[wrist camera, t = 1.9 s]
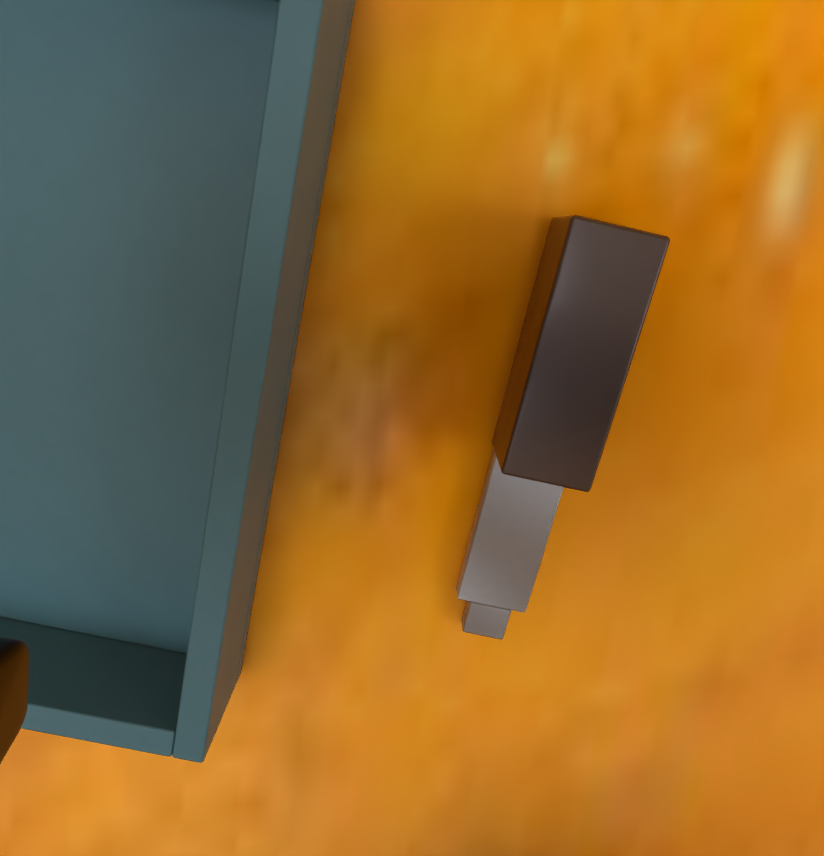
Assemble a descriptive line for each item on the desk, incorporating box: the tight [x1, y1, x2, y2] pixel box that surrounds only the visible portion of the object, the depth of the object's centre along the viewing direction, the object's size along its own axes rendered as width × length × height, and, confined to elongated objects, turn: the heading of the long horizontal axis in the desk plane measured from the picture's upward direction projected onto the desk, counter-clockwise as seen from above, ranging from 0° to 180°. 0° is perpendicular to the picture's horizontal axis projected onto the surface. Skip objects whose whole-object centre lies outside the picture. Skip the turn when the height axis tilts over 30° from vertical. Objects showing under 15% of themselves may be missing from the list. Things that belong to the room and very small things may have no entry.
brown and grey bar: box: [456, 215, 670, 639], centre depth 17 cm, size 12×2×2 cm, turn 168°
